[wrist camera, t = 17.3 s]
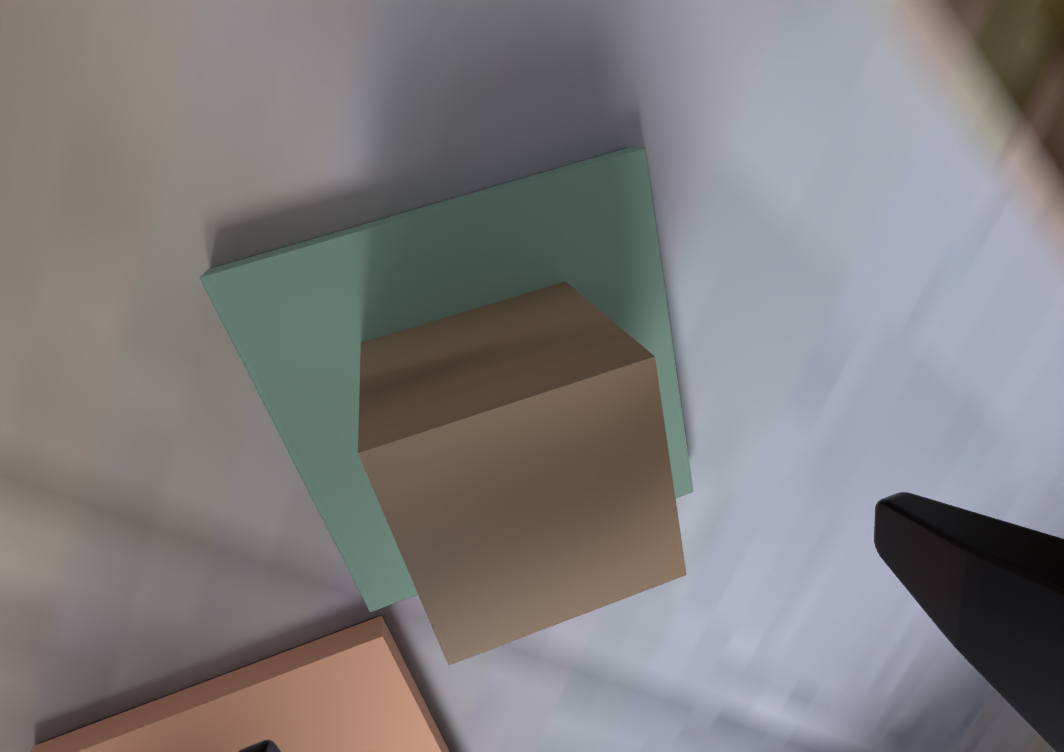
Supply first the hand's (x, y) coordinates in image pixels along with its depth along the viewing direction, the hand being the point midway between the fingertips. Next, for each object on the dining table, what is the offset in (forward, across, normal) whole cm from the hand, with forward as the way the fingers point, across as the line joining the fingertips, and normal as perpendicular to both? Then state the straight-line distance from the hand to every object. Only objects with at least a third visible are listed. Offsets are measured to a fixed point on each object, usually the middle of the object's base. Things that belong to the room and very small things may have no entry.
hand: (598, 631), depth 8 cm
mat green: (+8, 0, 0) cm, 8 cm away
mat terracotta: (+8, +10, +11) cm, 17 cm away
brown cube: (+8, 0, 0) cm, 8 cm away
